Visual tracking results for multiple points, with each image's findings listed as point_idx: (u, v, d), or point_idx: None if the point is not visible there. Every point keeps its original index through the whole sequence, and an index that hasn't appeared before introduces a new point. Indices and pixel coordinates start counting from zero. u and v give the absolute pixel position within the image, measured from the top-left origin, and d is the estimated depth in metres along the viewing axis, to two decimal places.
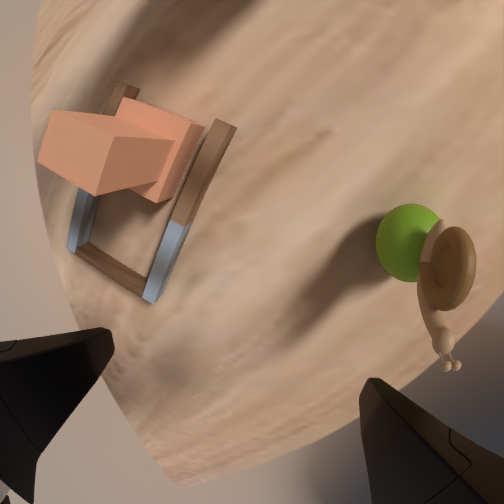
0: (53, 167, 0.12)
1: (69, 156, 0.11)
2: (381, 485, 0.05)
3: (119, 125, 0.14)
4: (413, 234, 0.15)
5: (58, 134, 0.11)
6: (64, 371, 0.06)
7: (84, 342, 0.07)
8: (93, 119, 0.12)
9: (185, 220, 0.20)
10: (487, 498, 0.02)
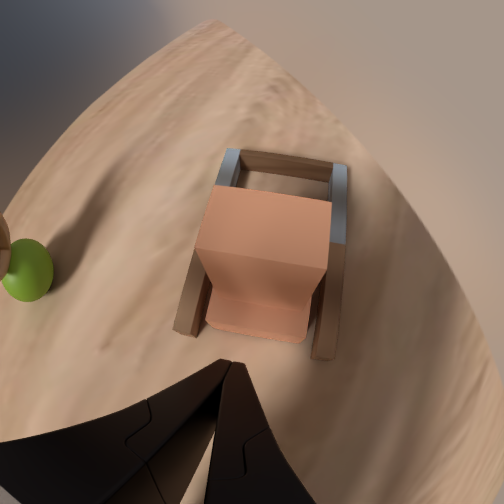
0: (293, 199, 0.12)
1: (265, 215, 0.11)
2: None
3: (254, 285, 0.14)
4: (16, 270, 0.16)
5: (297, 238, 0.11)
6: (205, 422, 0.06)
7: (221, 383, 0.07)
8: (275, 278, 0.12)
9: None
10: None
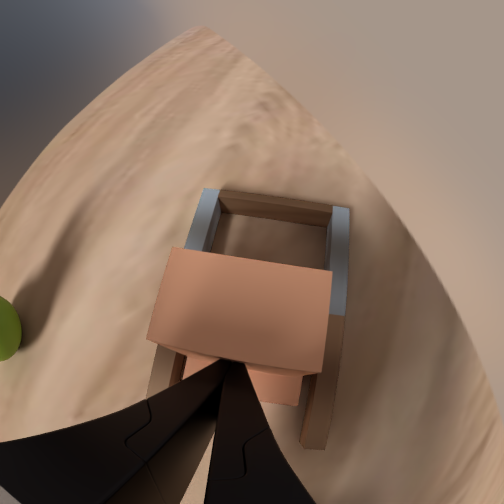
0: (279, 270, 0.08)
1: (238, 294, 0.08)
2: None
3: None
4: None
5: (282, 329, 0.08)
6: (205, 422, 0.06)
7: (221, 383, 0.07)
8: (255, 366, 0.09)
9: None
10: None
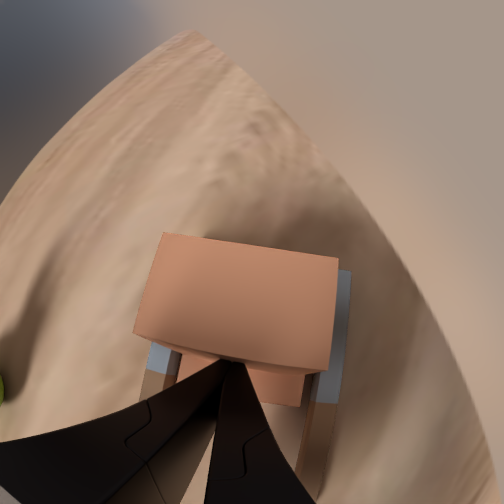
0: (279, 256, 0.08)
1: (235, 283, 0.07)
2: None
3: None
4: None
5: (284, 322, 0.07)
6: (205, 422, 0.06)
7: (221, 383, 0.07)
8: (254, 364, 0.08)
9: (145, 377, 0.14)
10: None
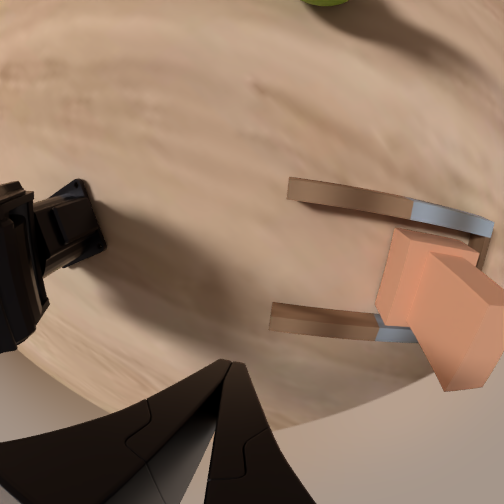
0: (494, 364, 0.10)
1: (491, 349, 0.09)
2: None
3: (442, 312, 0.13)
4: None
5: (469, 372, 0.10)
6: (205, 422, 0.06)
7: (221, 383, 0.07)
8: (446, 342, 0.12)
9: (406, 200, 0.16)
10: None
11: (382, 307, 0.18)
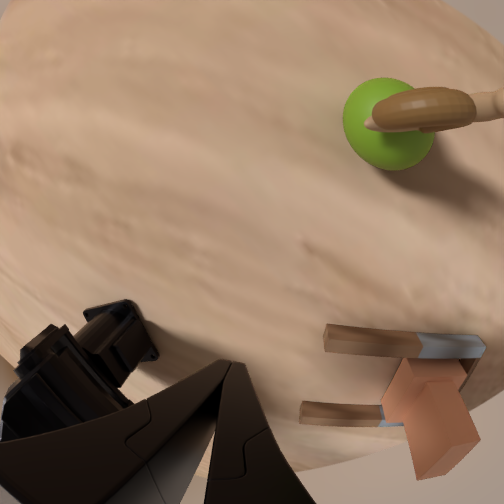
0: (454, 465, 0.12)
1: (452, 460, 0.12)
2: None
3: (425, 431, 0.15)
4: (389, 143, 0.12)
5: (435, 471, 0.13)
6: (205, 422, 0.06)
7: (221, 383, 0.07)
8: (424, 451, 0.14)
9: (417, 346, 0.19)
10: None
11: (386, 408, 0.21)
